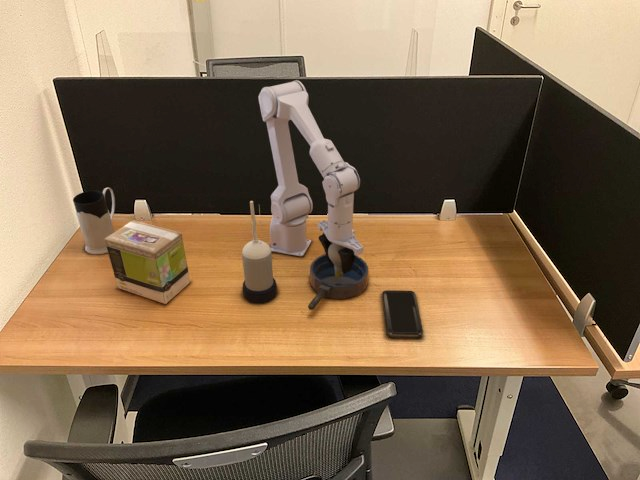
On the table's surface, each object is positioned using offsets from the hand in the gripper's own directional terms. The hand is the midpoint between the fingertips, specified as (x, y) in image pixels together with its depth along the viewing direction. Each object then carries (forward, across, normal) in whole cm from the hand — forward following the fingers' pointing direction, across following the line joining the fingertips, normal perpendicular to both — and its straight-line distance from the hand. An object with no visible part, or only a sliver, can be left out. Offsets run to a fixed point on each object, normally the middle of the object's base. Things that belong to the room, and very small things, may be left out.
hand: (339, 265), depth 124 cm
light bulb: (+3, 0, 0) cm, 3 cm away
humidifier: (+5, +8, +18) cm, 20 cm away
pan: (+5, 0, 0) cm, 5 cm away
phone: (+5, -19, -3) cm, 19 cm away
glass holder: (+5, +54, +39) cm, 67 cm away
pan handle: (+3, -5, +10) cm, 11 cm away
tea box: (+5, +26, +37) cm, 46 cm away
